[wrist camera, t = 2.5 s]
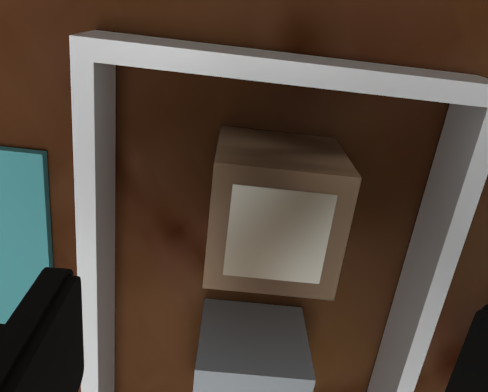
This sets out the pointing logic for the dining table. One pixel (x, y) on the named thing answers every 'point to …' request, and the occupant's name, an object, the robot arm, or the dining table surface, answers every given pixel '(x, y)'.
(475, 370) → the robot arm
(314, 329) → the dining table surface
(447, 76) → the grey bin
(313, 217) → the walnut box
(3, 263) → the teal mat
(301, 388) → the slate box
